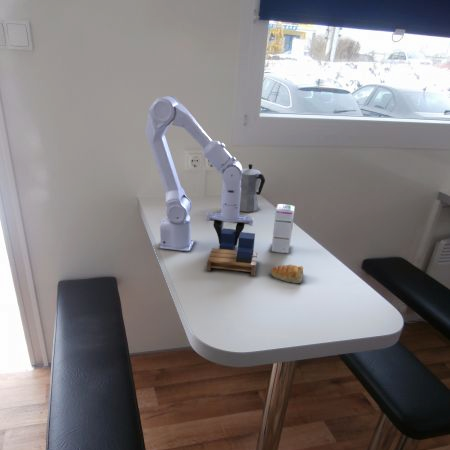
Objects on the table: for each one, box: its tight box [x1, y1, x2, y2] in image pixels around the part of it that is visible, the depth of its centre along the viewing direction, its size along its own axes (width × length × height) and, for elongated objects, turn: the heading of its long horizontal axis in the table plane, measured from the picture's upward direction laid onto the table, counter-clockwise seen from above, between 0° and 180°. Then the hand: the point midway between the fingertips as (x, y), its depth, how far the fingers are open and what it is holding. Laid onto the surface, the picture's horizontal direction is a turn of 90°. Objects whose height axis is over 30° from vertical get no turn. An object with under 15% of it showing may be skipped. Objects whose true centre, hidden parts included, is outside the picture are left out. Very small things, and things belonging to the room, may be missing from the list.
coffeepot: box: [239, 163, 266, 213], centre depth 164 cm, size 15×9×18 cm, turn 37°
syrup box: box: [271, 203, 296, 254], centre depth 132 cm, size 6×6×14 cm
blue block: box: [219, 227, 236, 251], centre depth 130 cm, size 7×4×6 cm, turn 172°
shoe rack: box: [206, 247, 258, 277], centre depth 121 cm, size 14×9×4 cm, turn 82°
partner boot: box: [236, 231, 256, 263], centre depth 119 cm, size 7×4×6 cm, turn 172°
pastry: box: [270, 264, 304, 284], centre depth 118 cm, size 9×7×4 cm
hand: (228, 243), depth 132 cm, fingers closed on blue block, 4 cm apart
